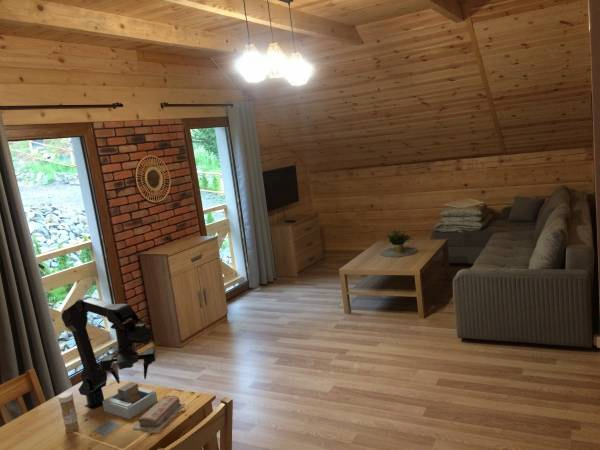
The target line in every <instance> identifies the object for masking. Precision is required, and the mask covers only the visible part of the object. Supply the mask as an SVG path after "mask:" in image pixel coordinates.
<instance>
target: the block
mask: <svg viewBox="0 0 600 450" xmlns="http://www.w3.org/2000/svg"><path fill="white" fill-rule="evenodd" d="M138 385H139V384H138V382H133V381H129V382H128V383H126V384H124V385H122V386H120V387H118V388H117V393H118V395H119V400H121V401H124V402H128V403H131V404H132V405H133V404H134V403H136V402H138V401H139V400H140V395H139V389H138V387H139V386H138Z"/></svg>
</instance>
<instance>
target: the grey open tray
mask: <svg viewBox="0 0 600 450" xmlns="http://www.w3.org/2000/svg"><path fill="white" fill-rule="evenodd" d="M138 389H139V395H140V400H139V401H138V402H136V403H134V404H133V405H132V404H131V403H128V402H124V401H121V400H119V395H118V392H116V393H115V394H113V395H111V396H108V397H107V398H104V401H102V402H103V405H102V406H103V411H104V412H105V413H108V414H112V415H116V416H118V417H122V418H124V419H128V420H130V419H133V418H134V417H135V416H137V415H138V414H140V413H142V412H143V411H144V410H146V409H148V408H149V407H152V405H155V404H156V403H157V402H158V396H157V391H156V390H152V389H148V388H145V387H140V386H138Z"/></svg>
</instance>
